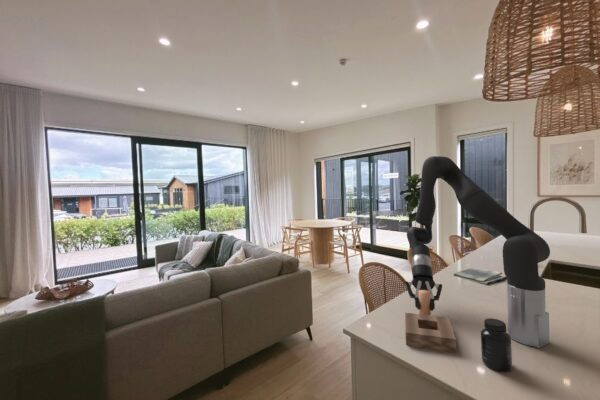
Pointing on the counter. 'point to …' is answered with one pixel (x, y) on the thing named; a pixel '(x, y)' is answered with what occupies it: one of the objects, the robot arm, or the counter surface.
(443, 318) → the socket block
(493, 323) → the supplement bottle
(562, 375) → the counter surface
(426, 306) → the pin
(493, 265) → the counter surface
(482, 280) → the dish towel
